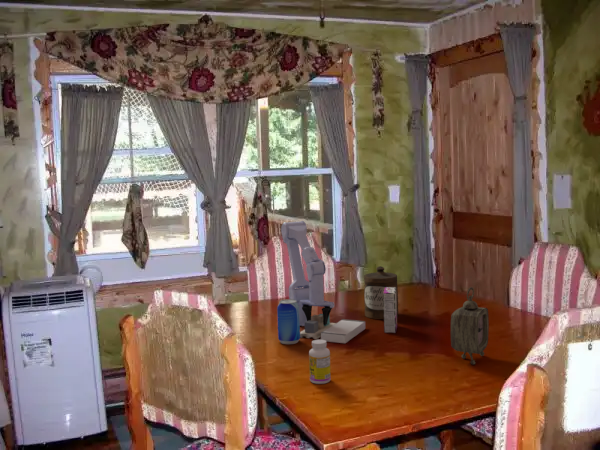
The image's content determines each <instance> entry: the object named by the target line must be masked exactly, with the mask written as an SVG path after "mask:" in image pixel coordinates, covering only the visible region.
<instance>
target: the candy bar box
mask: <svg viewBox="0 0 600 450" xmlns="http://www.w3.org/2000/svg"><path fill="white" fill-rule="evenodd" d="M383 306H384V319H383V332H384V333H385V334H396V332H397V328H398V316H397V301H396V288H395V287H385V289H384V292H383Z"/></svg>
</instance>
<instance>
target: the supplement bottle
mask: <svg viewBox="0 0 600 450" xmlns="http://www.w3.org/2000/svg"><path fill="white" fill-rule="evenodd" d="M327 342H328V341H326V340H321V339H314V340H312V341H311V346H312V348H311V349H309V351H308V360H309V362H308V363H309V364H308V365H309V368H308V369H309V381H310V382H311V383H312V384H316V385H324V384H328V383H330V381H331V380H332V379H331V378H332V377H331V373H332V372H331V352H330V349H329V348H327V345H328V343H327Z"/></svg>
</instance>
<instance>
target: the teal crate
mask: <svg viewBox="0 0 600 450" xmlns="http://www.w3.org/2000/svg"><path fill="white" fill-rule="evenodd" d="M330 314H331V313H330ZM330 314H329V317H328V321H327V324H326V325H324V326H327V325H329V324H330V323H331V319H330V318H331V317H330ZM318 315H323V313H320V314H318Z"/></svg>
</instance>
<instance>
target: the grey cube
mask: <svg viewBox="0 0 600 450" xmlns="http://www.w3.org/2000/svg"><path fill="white" fill-rule="evenodd" d="M304 330H305V332H306V333H316V332H317V331H318V321H313V320H308V321H307V322H305V326H304Z"/></svg>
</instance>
